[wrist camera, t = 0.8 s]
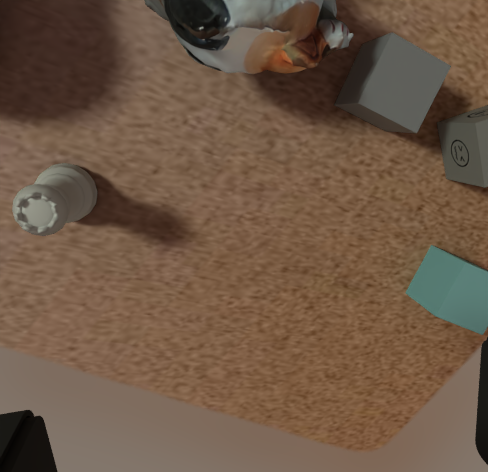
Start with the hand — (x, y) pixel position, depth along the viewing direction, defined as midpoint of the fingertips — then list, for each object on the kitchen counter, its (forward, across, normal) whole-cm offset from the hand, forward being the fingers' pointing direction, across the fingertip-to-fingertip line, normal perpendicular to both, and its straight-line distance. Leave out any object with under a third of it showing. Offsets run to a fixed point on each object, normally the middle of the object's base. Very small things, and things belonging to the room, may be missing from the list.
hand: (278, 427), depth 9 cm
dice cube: (+28, -23, -2) cm, 36 cm away
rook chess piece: (+27, +10, -2) cm, 29 cm away
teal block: (+27, -21, +10) cm, 36 cm away
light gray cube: (+27, -15, -7) cm, 32 cm away
